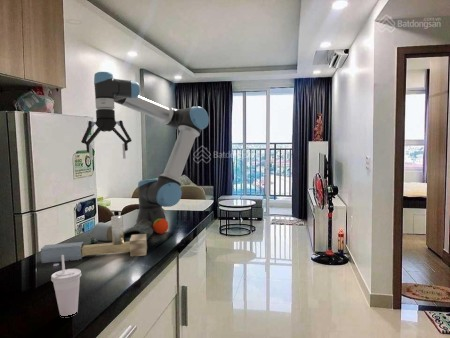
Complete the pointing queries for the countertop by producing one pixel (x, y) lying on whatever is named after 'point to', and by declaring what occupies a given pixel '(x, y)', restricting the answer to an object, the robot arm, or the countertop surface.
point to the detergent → (139, 230)
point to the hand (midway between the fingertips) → (108, 159)
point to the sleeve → (61, 252)
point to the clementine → (160, 226)
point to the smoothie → (67, 289)
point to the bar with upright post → (113, 247)
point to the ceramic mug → (102, 232)
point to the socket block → (138, 245)
